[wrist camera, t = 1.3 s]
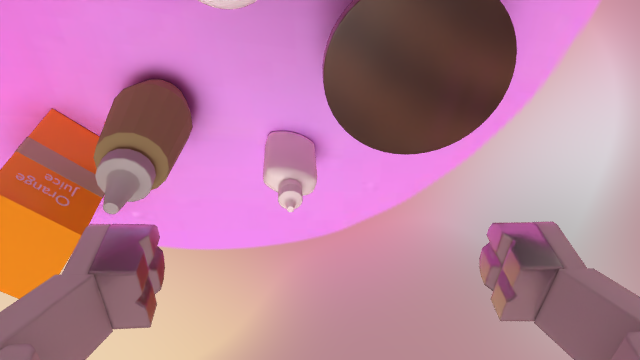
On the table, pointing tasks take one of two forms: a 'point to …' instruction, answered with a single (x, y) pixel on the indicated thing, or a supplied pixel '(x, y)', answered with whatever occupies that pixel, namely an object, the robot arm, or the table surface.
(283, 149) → the eye dropper bottle
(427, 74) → the little table
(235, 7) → the pill bottle
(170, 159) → the squeeze bottle
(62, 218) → the orange juice
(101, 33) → the table surface
